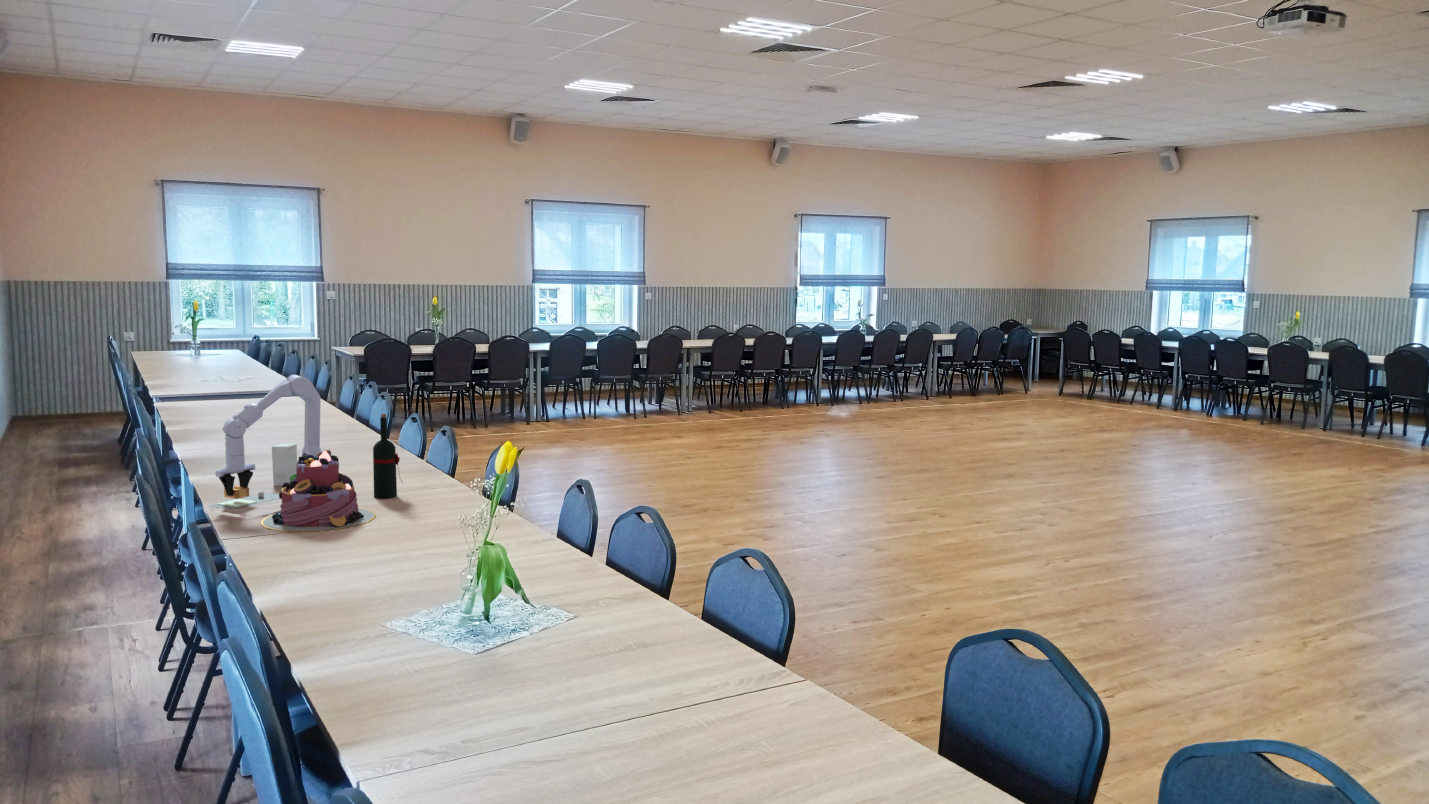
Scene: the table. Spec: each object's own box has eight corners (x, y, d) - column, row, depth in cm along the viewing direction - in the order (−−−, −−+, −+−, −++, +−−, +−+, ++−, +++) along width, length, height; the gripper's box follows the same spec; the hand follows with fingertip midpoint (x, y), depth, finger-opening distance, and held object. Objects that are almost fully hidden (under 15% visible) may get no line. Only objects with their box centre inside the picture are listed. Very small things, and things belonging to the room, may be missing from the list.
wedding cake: (253, 536, 313) (250, 463, 310) (268, 510, 347) (265, 444, 344) (374, 529, 323) (372, 458, 320) (377, 505, 356) (375, 440, 354)
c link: (249, 496, 351) (248, 487, 351) (237, 499, 347) (236, 490, 346) (236, 494, 354) (236, 485, 353) (224, 496, 349) (224, 488, 349)
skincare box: (289, 488, 380) (288, 446, 378) (271, 488, 380) (270, 446, 378) (299, 483, 388) (297, 443, 386) (281, 483, 388) (280, 442, 387)
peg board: (289, 498, 363) (289, 490, 363) (232, 512, 342) (232, 503, 341) (264, 495, 368) (264, 486, 368) (207, 508, 347) (206, 499, 346)
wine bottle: (404, 497, 367) (402, 414, 363) (374, 499, 364) (372, 415, 360) (402, 493, 374) (401, 412, 371) (373, 495, 371) (371, 412, 367)
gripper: (244, 450, 356) (245, 488, 358) (208, 457, 343) (210, 496, 345) (259, 452, 354) (260, 491, 355) (223, 458, 340) (225, 499, 342)
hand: (236, 494), depth 350 cm, fingers closed on c link, 5 cm apart
